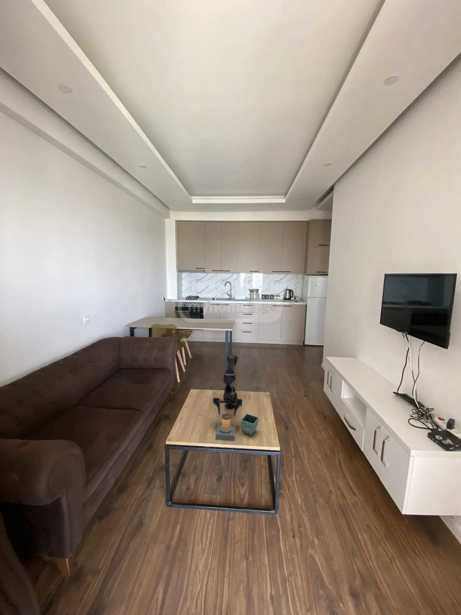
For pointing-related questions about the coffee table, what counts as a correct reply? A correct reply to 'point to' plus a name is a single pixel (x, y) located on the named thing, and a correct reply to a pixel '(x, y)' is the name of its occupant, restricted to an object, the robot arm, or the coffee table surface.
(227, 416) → the plug
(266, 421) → the coffee table surface
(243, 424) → the flower pot
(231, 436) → the socket
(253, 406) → the coffee table surface
